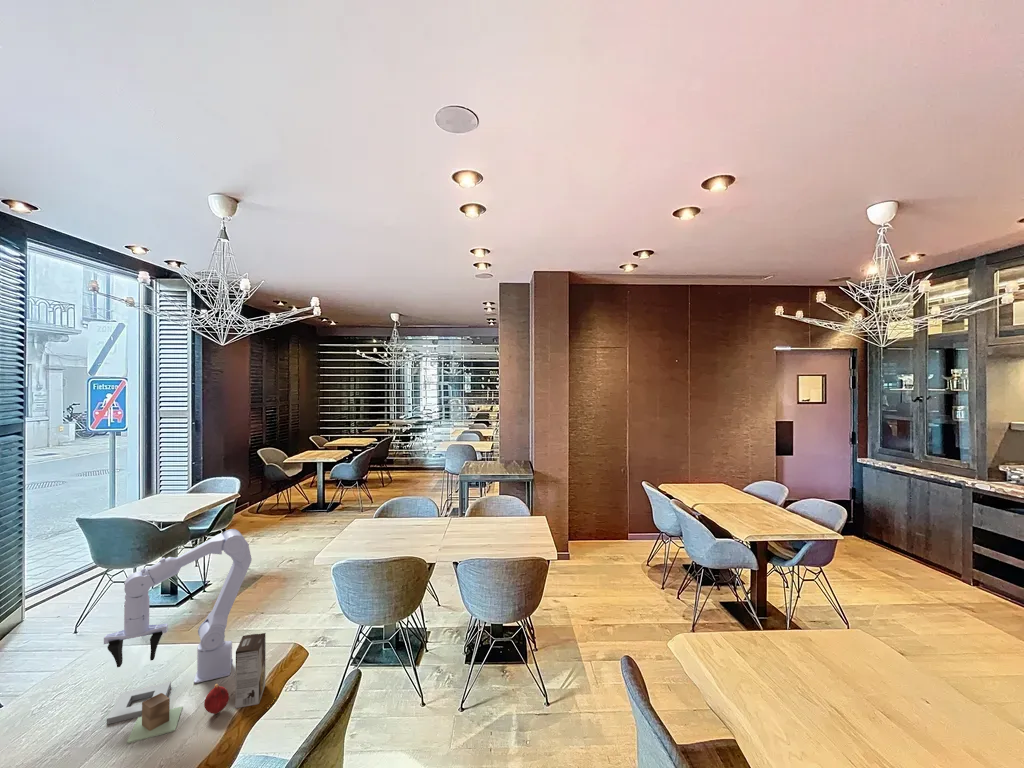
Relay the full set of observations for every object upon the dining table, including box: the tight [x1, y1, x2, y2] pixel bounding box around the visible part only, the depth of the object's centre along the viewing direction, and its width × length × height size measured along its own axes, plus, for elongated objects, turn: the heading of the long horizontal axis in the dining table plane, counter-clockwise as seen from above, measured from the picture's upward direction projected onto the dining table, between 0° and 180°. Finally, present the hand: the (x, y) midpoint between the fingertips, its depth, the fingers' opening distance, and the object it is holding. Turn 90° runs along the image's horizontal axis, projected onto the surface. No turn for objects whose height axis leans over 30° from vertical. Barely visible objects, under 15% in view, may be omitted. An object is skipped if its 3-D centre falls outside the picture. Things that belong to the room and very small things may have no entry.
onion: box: [203, 683, 230, 715], centre depth 129 cm, size 6×6×8 cm
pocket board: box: [106, 681, 172, 725], centre depth 132 cm, size 12×12×2 cm
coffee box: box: [234, 632, 267, 709], centre depth 136 cm, size 9×6×16 cm
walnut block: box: [141, 693, 171, 731], centre depth 125 cm, size 4×4×6 cm
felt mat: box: [126, 706, 183, 744], centre depth 124 cm, size 10×10×1 cm
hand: (136, 662), depth 135 cm, fingers open, 7 cm apart
